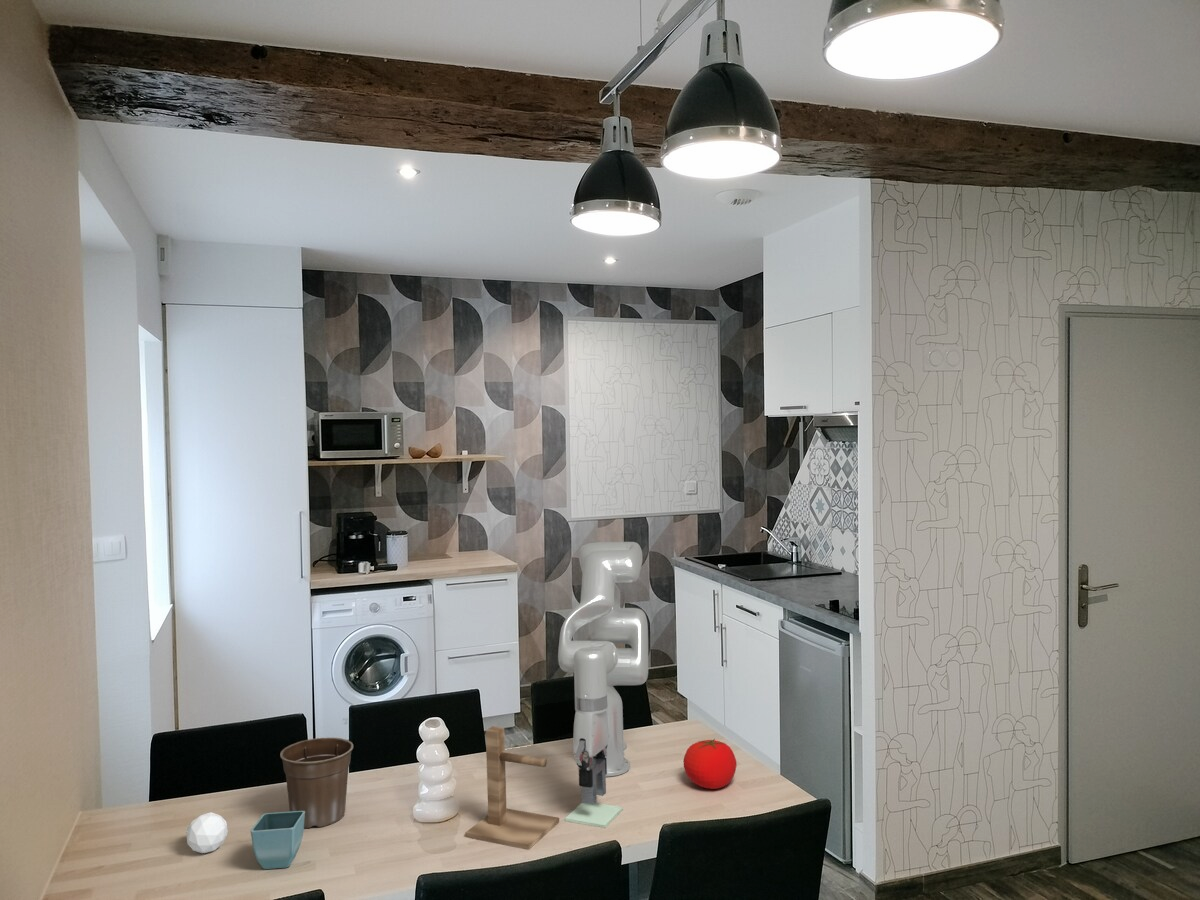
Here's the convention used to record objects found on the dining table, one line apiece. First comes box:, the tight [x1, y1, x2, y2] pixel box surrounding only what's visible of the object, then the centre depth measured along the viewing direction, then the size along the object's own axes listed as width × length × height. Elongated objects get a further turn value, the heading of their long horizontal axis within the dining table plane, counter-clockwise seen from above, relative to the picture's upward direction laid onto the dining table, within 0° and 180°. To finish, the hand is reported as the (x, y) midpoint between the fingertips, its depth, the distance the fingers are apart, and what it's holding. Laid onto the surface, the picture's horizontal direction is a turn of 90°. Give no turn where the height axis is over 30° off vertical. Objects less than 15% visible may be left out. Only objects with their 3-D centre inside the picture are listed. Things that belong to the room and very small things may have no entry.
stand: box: [464, 725, 560, 850], centre depth 186 cm, size 14×16×22 cm
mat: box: [564, 802, 624, 829], centre depth 192 cm, size 10×10×1 cm
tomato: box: [683, 738, 738, 790], centre depth 208 cm, size 12×13×11 cm
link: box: [580, 758, 607, 805], centre depth 192 cm, size 7×3×8 cm, turn 156°
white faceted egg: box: [186, 811, 229, 854], centre depth 181 cm, size 8×8×12 cm
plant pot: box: [279, 737, 354, 829], centre depth 195 cm, size 16×16×16 cm
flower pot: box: [250, 811, 305, 870], centre depth 174 cm, size 9×9×9 cm
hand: (593, 779), depth 192 cm, fingers closed on link, 7 cm apart
